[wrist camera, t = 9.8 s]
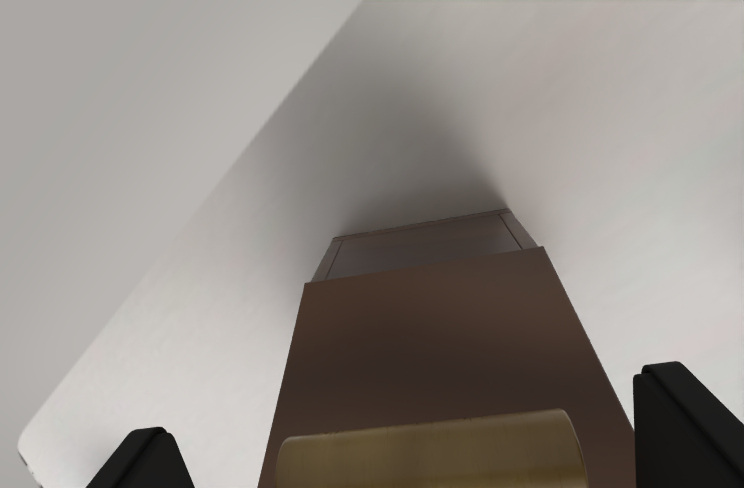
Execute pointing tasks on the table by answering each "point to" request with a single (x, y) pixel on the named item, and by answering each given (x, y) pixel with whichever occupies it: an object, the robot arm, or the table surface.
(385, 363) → the lid
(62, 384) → the table surface
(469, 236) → the chest
